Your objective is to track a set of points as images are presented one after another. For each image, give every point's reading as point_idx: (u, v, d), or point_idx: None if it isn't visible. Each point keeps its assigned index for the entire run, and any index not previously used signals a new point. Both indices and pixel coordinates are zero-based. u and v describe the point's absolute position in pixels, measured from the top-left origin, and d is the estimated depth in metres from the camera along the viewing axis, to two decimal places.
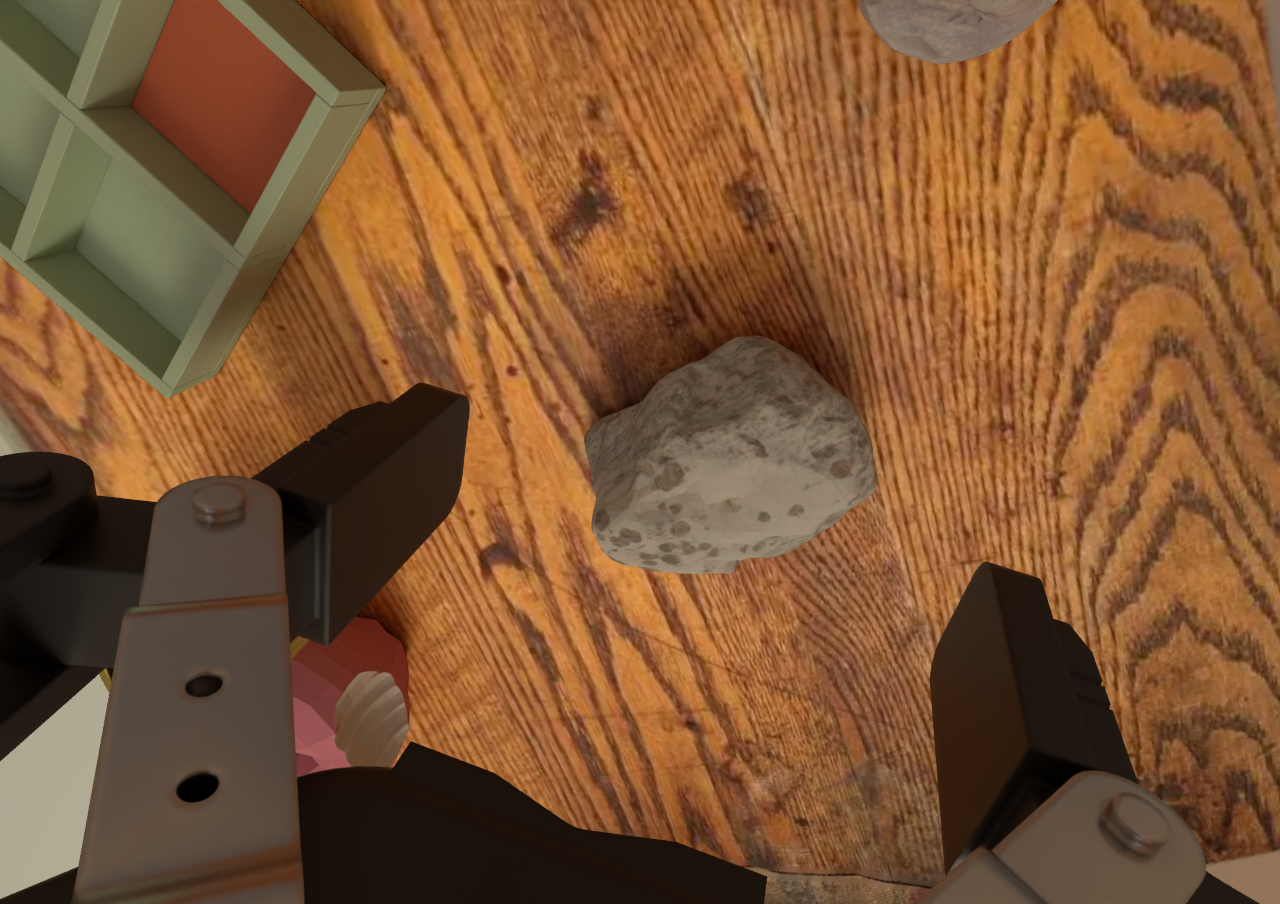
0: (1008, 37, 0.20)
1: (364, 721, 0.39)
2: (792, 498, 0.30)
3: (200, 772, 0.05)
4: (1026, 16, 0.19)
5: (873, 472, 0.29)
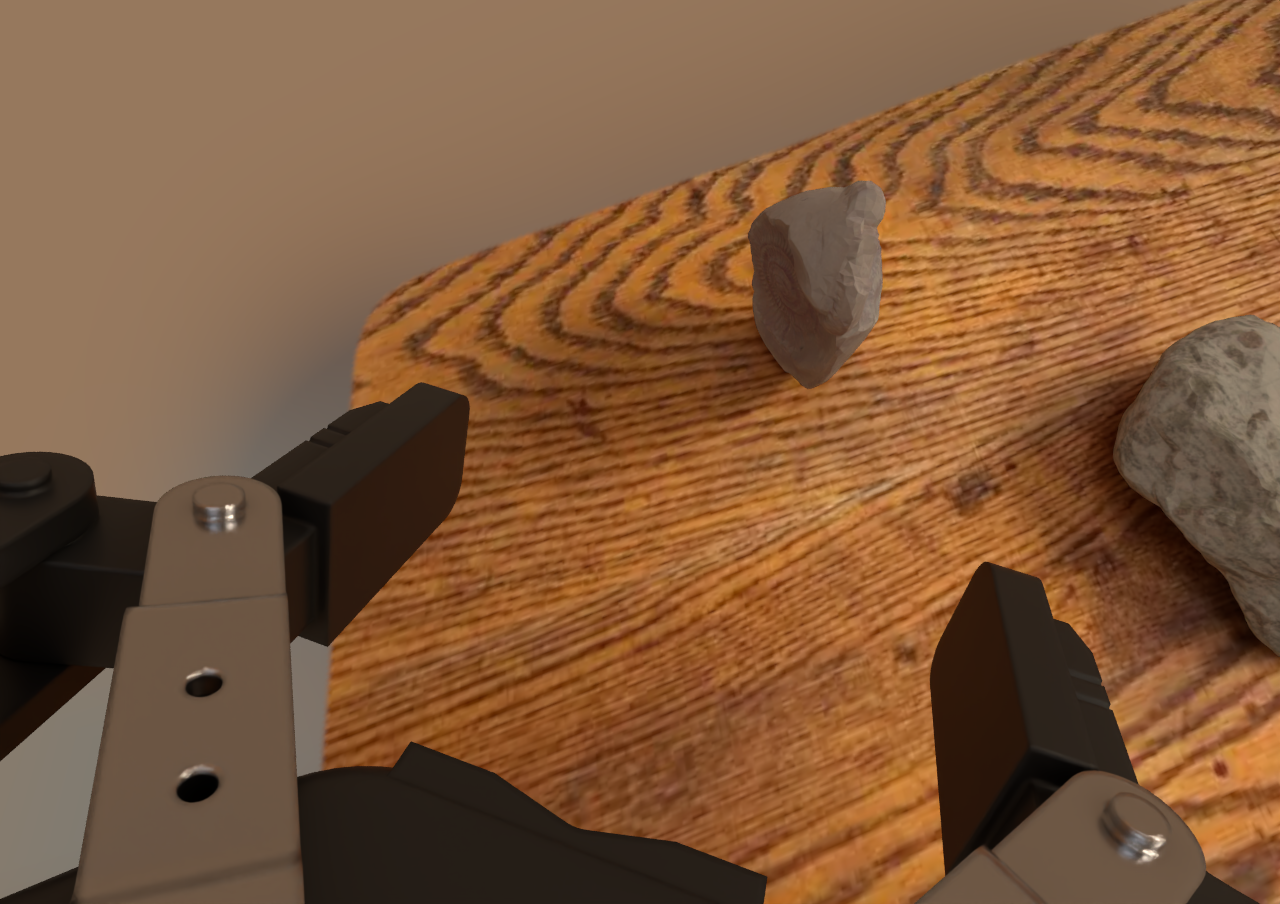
0: None
1: None
2: None
3: (201, 772, 0.05)
4: None
5: (1237, 317, 0.29)
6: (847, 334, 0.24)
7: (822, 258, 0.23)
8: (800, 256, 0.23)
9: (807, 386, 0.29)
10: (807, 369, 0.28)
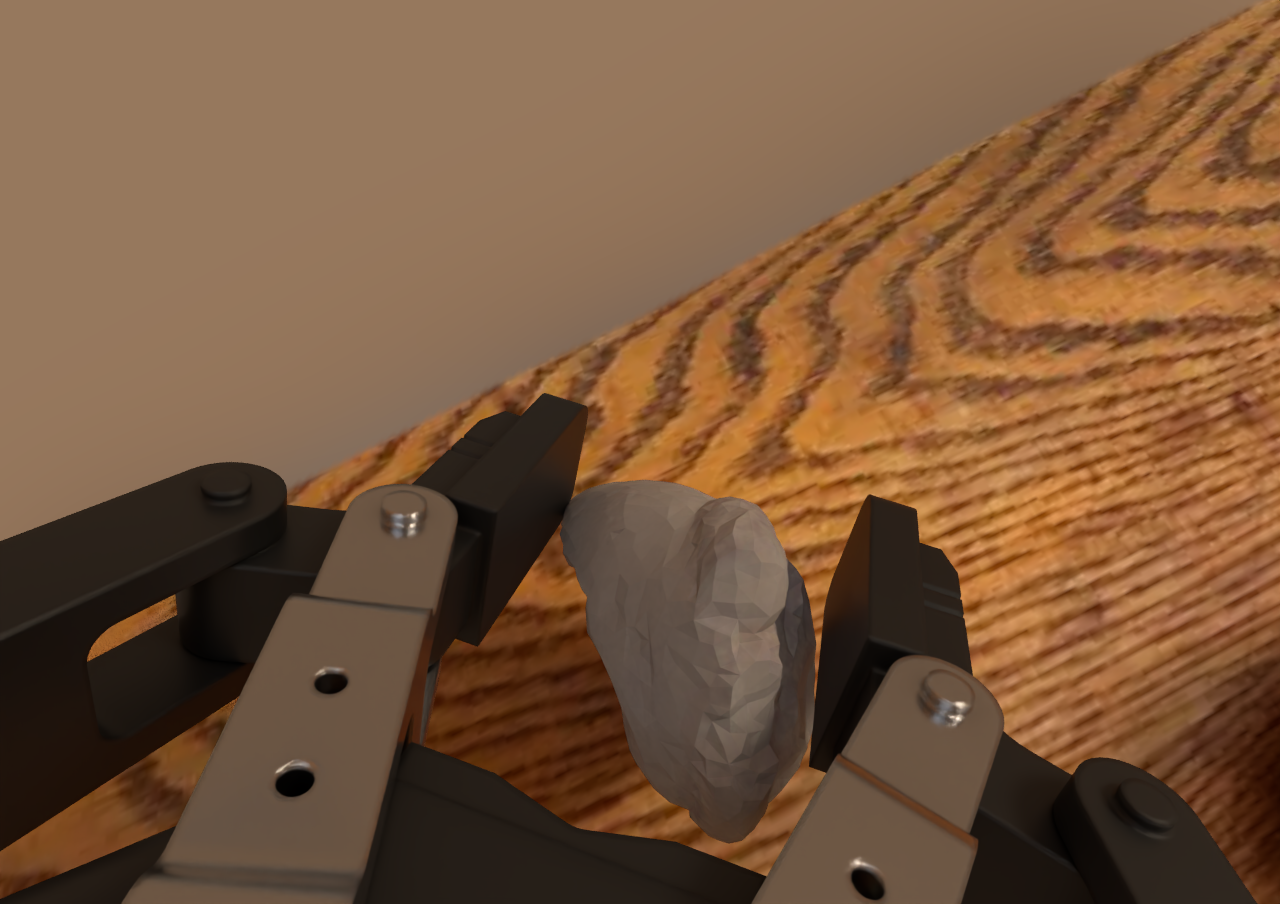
0: None
1: None
2: None
3: (302, 767, 0.06)
4: None
5: None
6: None
7: (655, 702, 0.09)
8: (611, 680, 0.10)
9: None
10: None
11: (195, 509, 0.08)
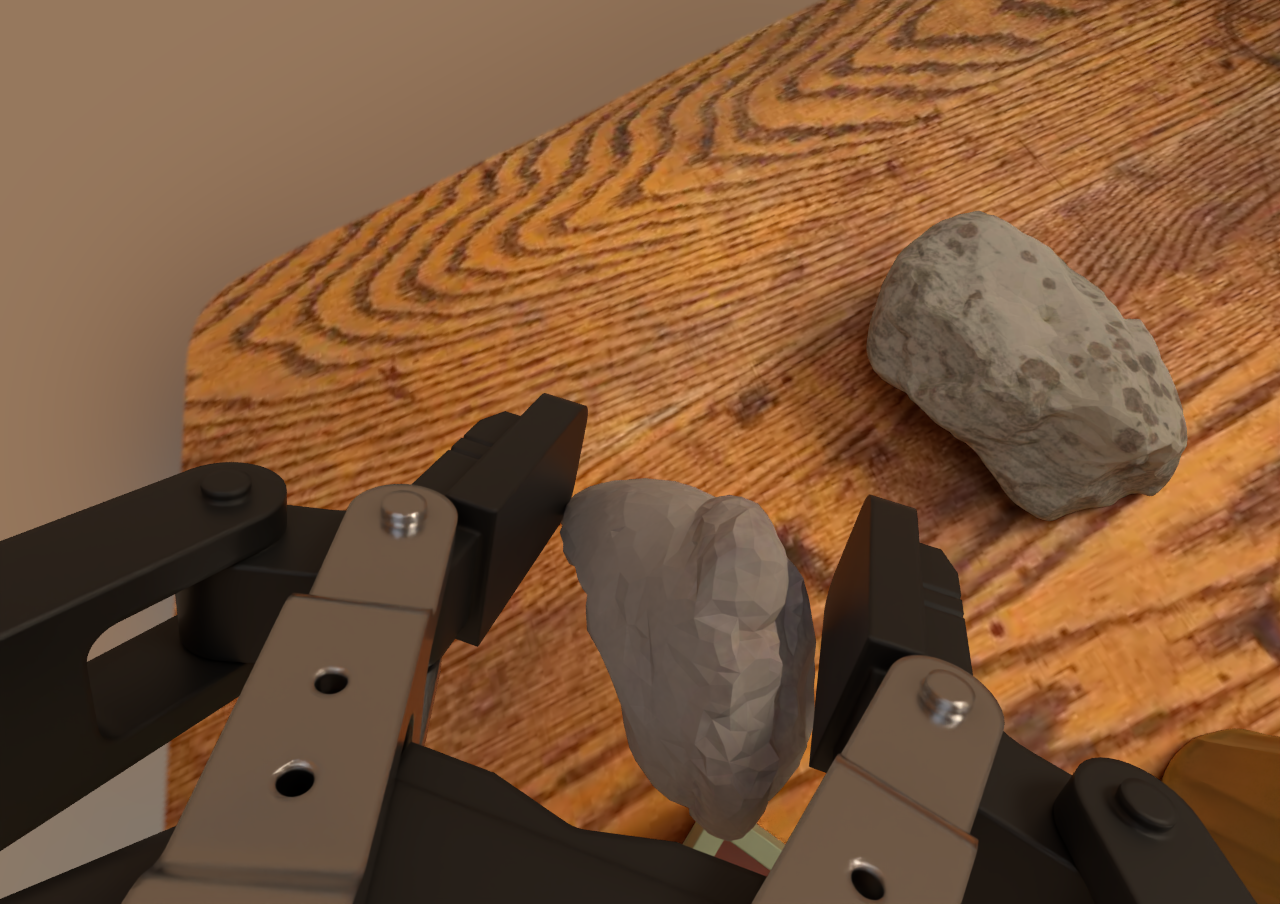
0: None
1: None
2: (1015, 261, 0.29)
3: (302, 768, 0.06)
4: None
5: (962, 214, 0.31)
6: None
7: (655, 700, 0.09)
8: None
9: None
10: None
11: (194, 509, 0.08)
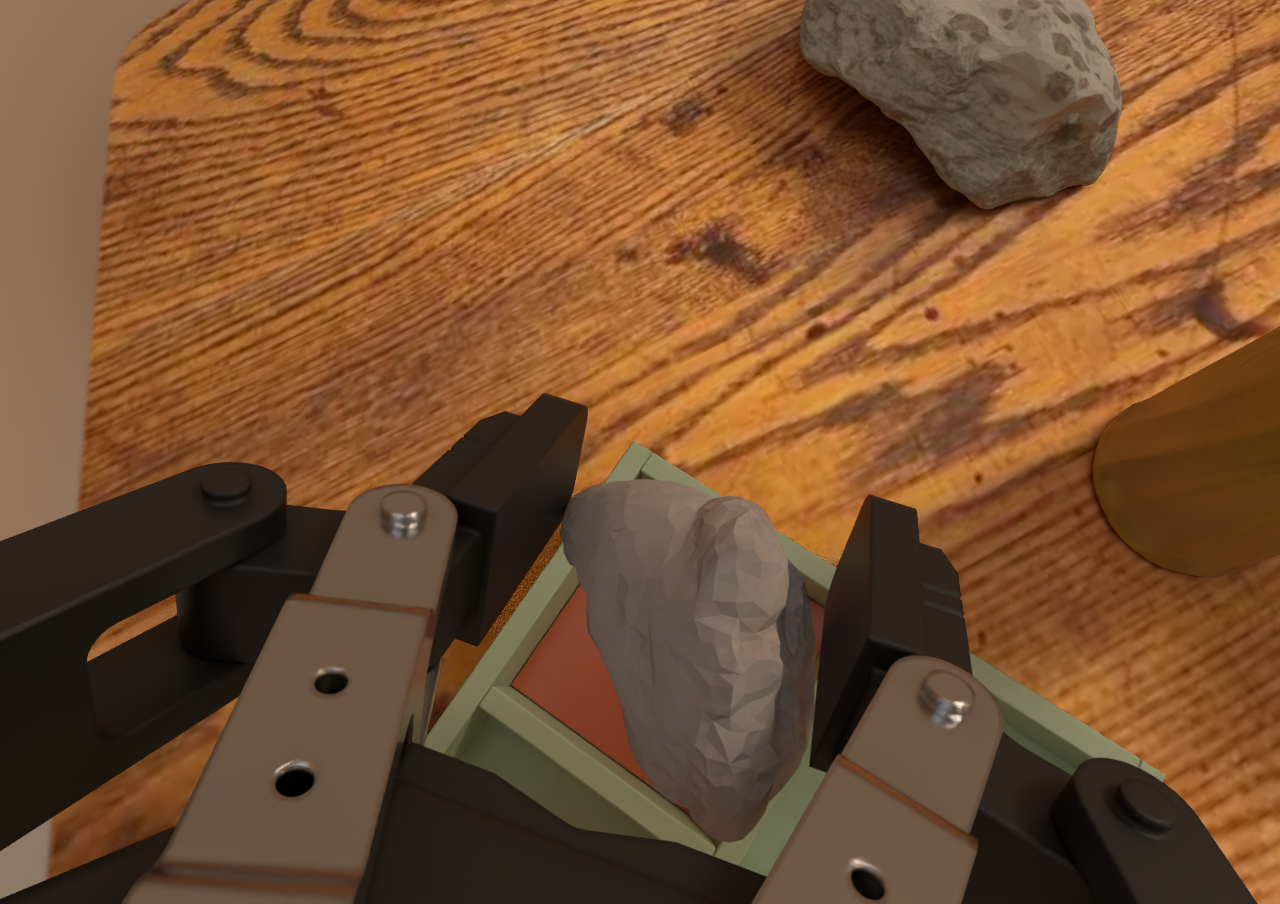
0: None
1: None
2: None
3: (302, 768, 0.06)
4: None
5: None
6: None
7: (655, 702, 0.09)
8: None
9: None
10: None
11: (194, 509, 0.08)
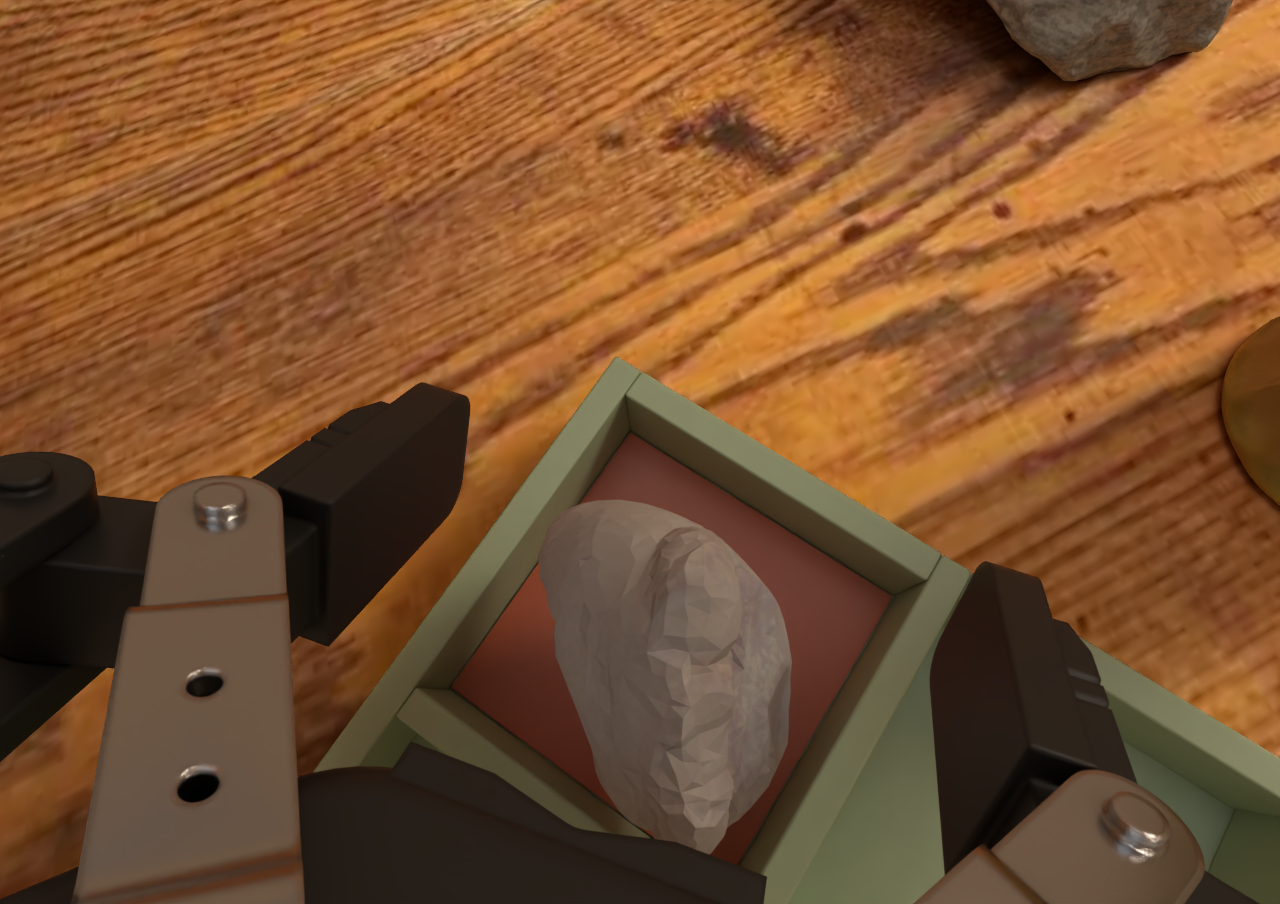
0: (747, 567, 0.12)
1: None
2: None
3: (200, 772, 0.05)
4: None
5: None
6: None
7: (614, 730, 0.10)
8: (576, 705, 0.10)
9: None
10: None
11: None
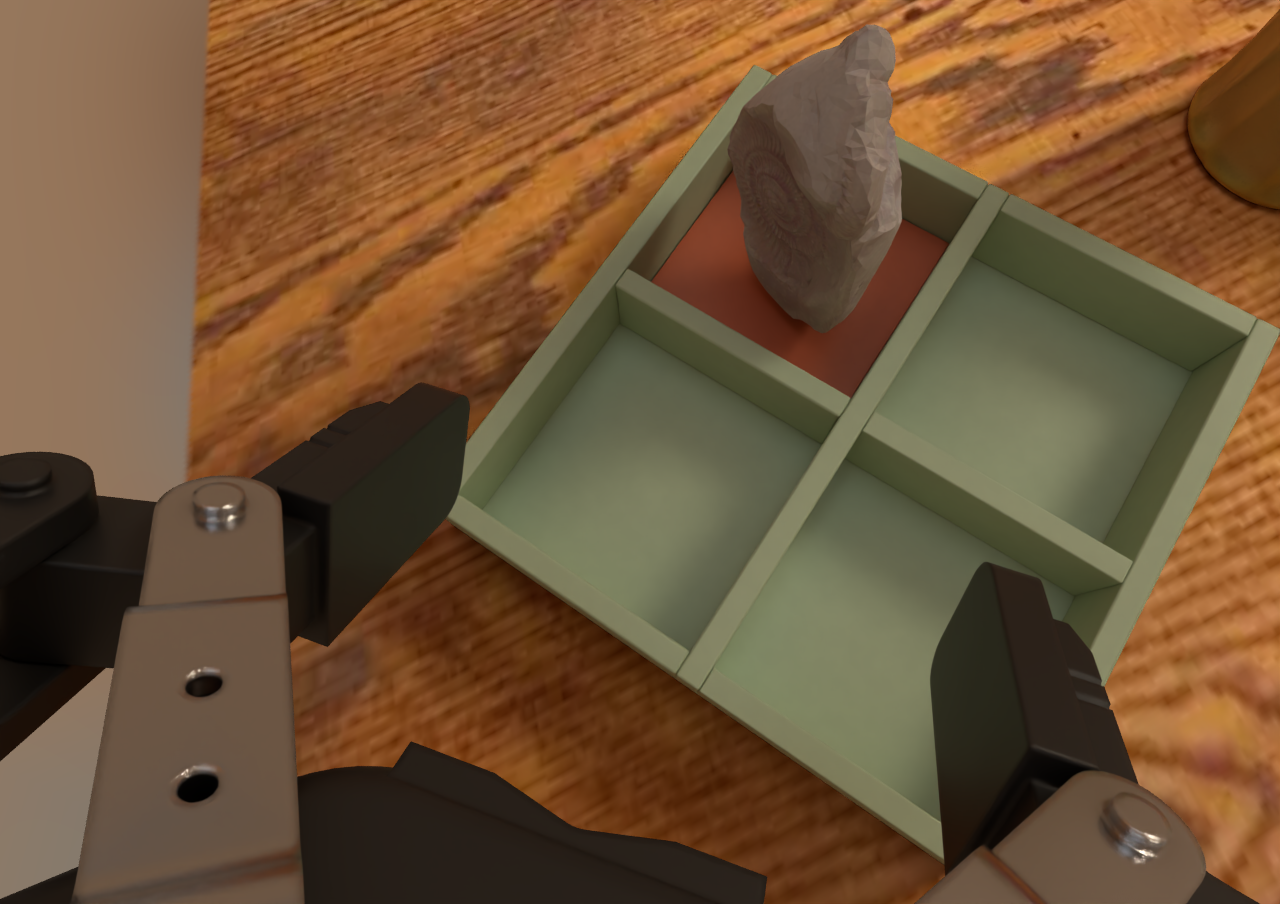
0: None
1: None
2: None
3: (200, 772, 0.05)
4: None
5: None
6: (865, 238, 0.19)
7: (820, 133, 0.17)
8: (791, 138, 0.18)
9: (822, 330, 0.24)
10: (818, 304, 0.22)
11: None
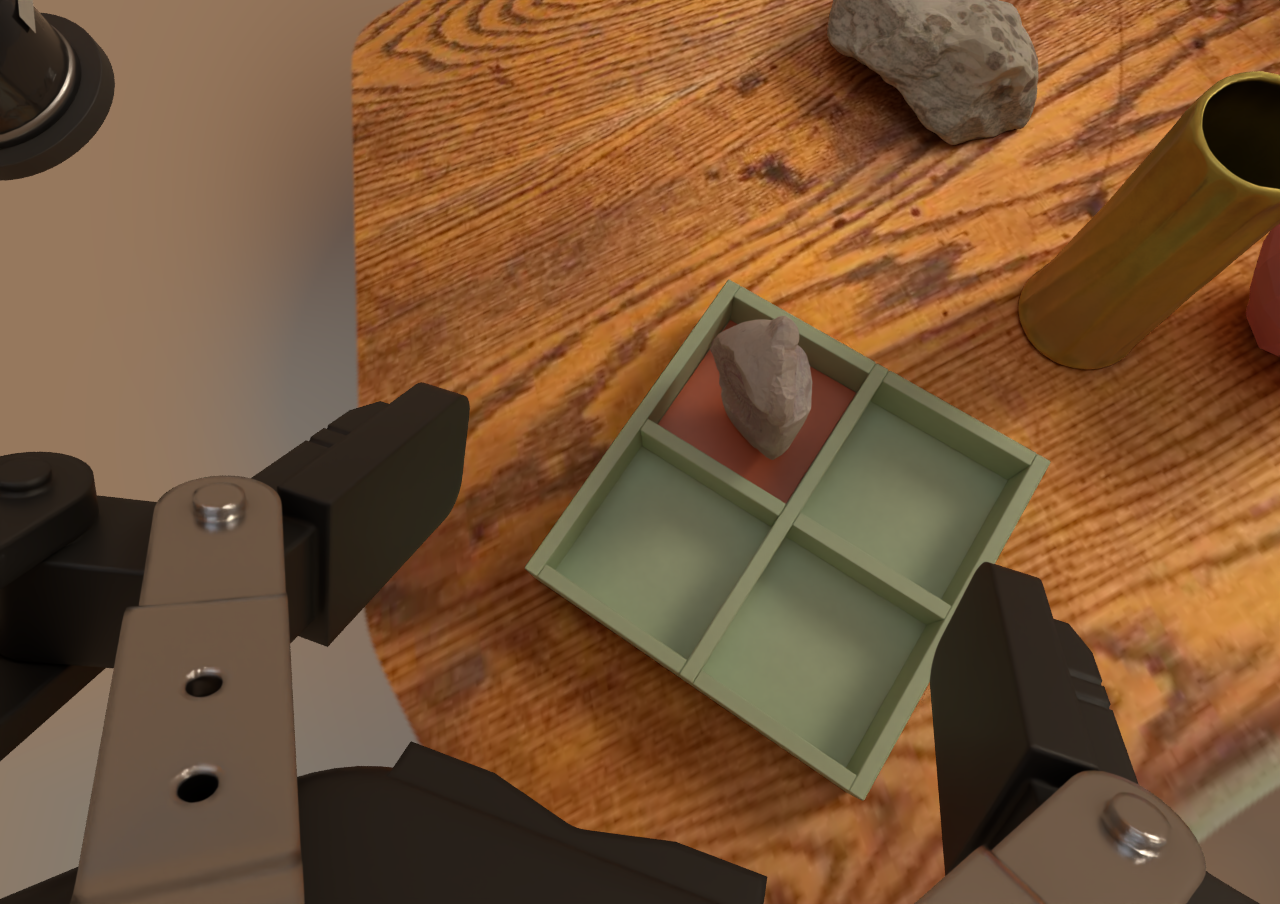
0: None
1: None
2: None
3: (200, 772, 0.05)
4: None
5: None
6: (787, 424, 0.33)
7: (758, 375, 0.31)
8: (743, 374, 0.32)
9: (770, 458, 0.38)
10: (766, 447, 0.36)
11: None
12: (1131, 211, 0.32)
